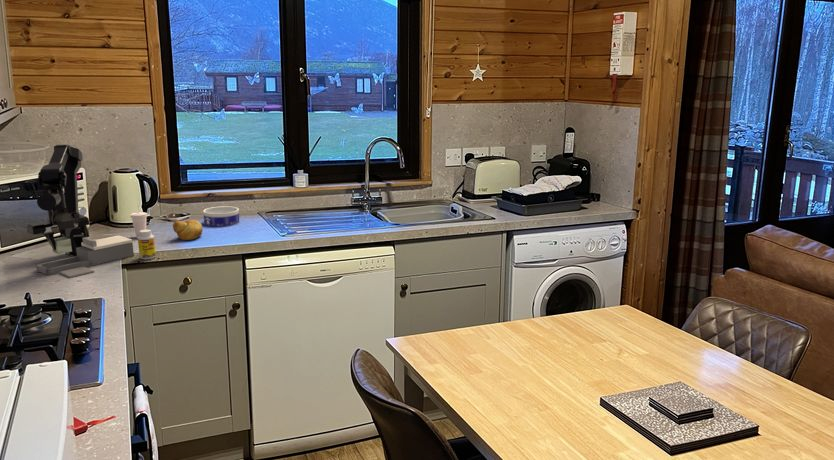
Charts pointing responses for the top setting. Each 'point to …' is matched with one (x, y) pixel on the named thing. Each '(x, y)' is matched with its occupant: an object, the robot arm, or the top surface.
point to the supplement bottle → (146, 245)
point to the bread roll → (187, 229)
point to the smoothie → (139, 221)
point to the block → (62, 245)
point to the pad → (76, 272)
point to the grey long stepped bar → (87, 258)
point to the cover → (105, 242)
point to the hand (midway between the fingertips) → (62, 248)
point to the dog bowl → (221, 216)
